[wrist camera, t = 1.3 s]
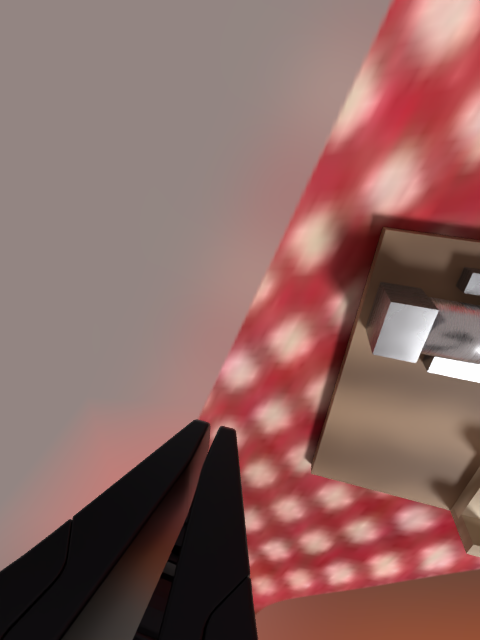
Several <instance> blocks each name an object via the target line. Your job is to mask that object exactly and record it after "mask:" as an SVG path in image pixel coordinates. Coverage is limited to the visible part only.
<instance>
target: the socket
mask: <svg viewBox="0 0 480 640" xmlns="http://www.w3.org/2000/svg"><path fill="white" fill-rule="evenodd" d="M456 287H457V288H459V289H460V290H461V291H462V292H463V293H466V294H472V295H478V296H480V269H476V268H469V267H464V268H463V271H462V273H461V275H460V278H459V280H458V282H457V284H456ZM422 362H423V364H424V366H425V368H426V370H427V372H430V373H435V374H440V375H445V376H450V377H455V378H460V379H465V380H469V381H474V382H479V383H480V365H477V364H472V363H467V362H462V361H456V360H451V359H446V358H441V357H436V356H431V355H425V357H424V359H423V361H422Z"/></svg>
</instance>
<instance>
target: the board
mask: <svg viewBox="0 0 480 640" xmlns="http://www.w3.org/2000/svg"><path fill="white" fill-rule="evenodd" d="M464 267H469V268H476V269H480V240H475V239H468V238H460V237H453V236H446V235H438V234H431V233H424V232H417V231H409V230H402V229H395V228H387V227H383V229H382V232H381V235H380V239H379V242H378V245H377V249H376V252H375V255H374V259H373V262H372V265H371V269H370V272H369V275H368V279H367V282H366V285H365V288H364V292H363V295H362V298H361V302H360V305H359V308H358V312H357V315H356V318H355V322H354V325H353V328H352V332H351V335H350V338H349V342H348V345H347V348H346V352H345V355H344V358H343V362H342V365H341V368H340V372H339V375H338V378H337V382H336V385H335V388H334V392H333V395H332V398H331V402H330V405H329V408H328V411H327V415H326V418H325V421H324V425H323V428H322V431H321V435H320V438H319V441H318V445H317V448H316V451H315V455H314V458H313V461H312V465H311V474H314V475H318V476H322V477H326V478H329V479H333V480H337V481H341V482H345V483H348V484H352V485H356V486H360V487H364V488H367V489H371V490H375V491H379V492H383V493H386V494H390V495H394V496H398V497H401V498H405V499H409V500H413V501H417V502H420V503H424V504H428V505H432V506H436V507H439V508H443V509H447V510H451V509H452V507H453V506H454V504H455V503H456V501H457V500H458V498H459V497H460V495H461V494H462V492H463V491H464V489H465V488H466V486H467V485H468V483H469V482H470V480H471V479H472V477H473V476H474V474H475V473H476V471H477V470H478V468H479V467H480V383H479V382H474V381H469V380H465V379H460V378H455V377H450V376H445V375H440V374H435V373H430V372H427V370H426V368H425V366H424V364H423V362H422V361H423V359H424V357H425V354H420V355H419V358H418V360H417V362H416V363H413V362H408V361H403V360H398V359H393V358H388V357H383V356H378V355H373V354H372V351H371V347H370V344H369V340H368V336H367V333H366V329H365V328H366V325H367V322H368V319H369V315H370V312H371V309H372V306H373V303H374V300H375V297H376V294H377V291H378V287H379V284H380V282H386V283H392V284H398V285H404V286H410V287H416V288H421V289H422V290H423V291H424V293H425V294H426V295H427V296H428V297H433V298H439V299H445V300H451V301H457V302H463V303H469V304H475V305H480V296H478V295H472V294H466V293H463V292H462V291H461V290H460V289H459V288H457V287H456V284H457V282H458V280H459V278H460V275H461V273H462V271H463V268H464Z"/></svg>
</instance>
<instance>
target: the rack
mask: <svg viewBox="0 0 480 640" xmlns="http://www.w3.org/2000/svg"><path fill="white" fill-rule="evenodd" d="M450 511H451V514H452V516H453V519H454V522H455V524H456V527H457V530H458V532H459V535H460V537H461V540H462V543H463V545H464V548H465V551H466V553H467V554H470V555H474V556H477V557H480V467H479V468H478V470H477V471H476V473H475V474H474V476H473V477H472V479H471V480H470V482H469V483H468V485H467V486H466V488H465V489H464V491H463V492H462V494H461V495H460V497H459V498H458V500H457V501H456V503H455V504H454V506H453V507H452V509H451V510H450Z"/></svg>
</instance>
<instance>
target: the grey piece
mask: <svg viewBox="0 0 480 640" xmlns="http://www.w3.org/2000/svg"><path fill="white" fill-rule="evenodd" d="M365 329H366V333H367V336H368V340H369V344H370V347H371V351H372V354H373V355H378V356H383V357H388V358H393V359H398V360H403V361H408V362H413V363H416V362H417V360H418V358H419V355H420V354H425V355H431V356H436V357H441V358H446V359H451V360H456V361H462V362H467V363H472V364H477V365H480V305H475V304H469V303H463V302H457V301H451V300H445V299H439V298H433V297H428V296H427V295H426V294H425V293H424V291H423V290H422V289H421V288H416V287H410V286H404V285H398V284H392V283H386V282H380V284H379V287H378V291H377V294H376V297H375V300H374V303H373V306H372V309H371V312H370V315H369V319H368V322H367V325H366V328H365Z"/></svg>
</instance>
